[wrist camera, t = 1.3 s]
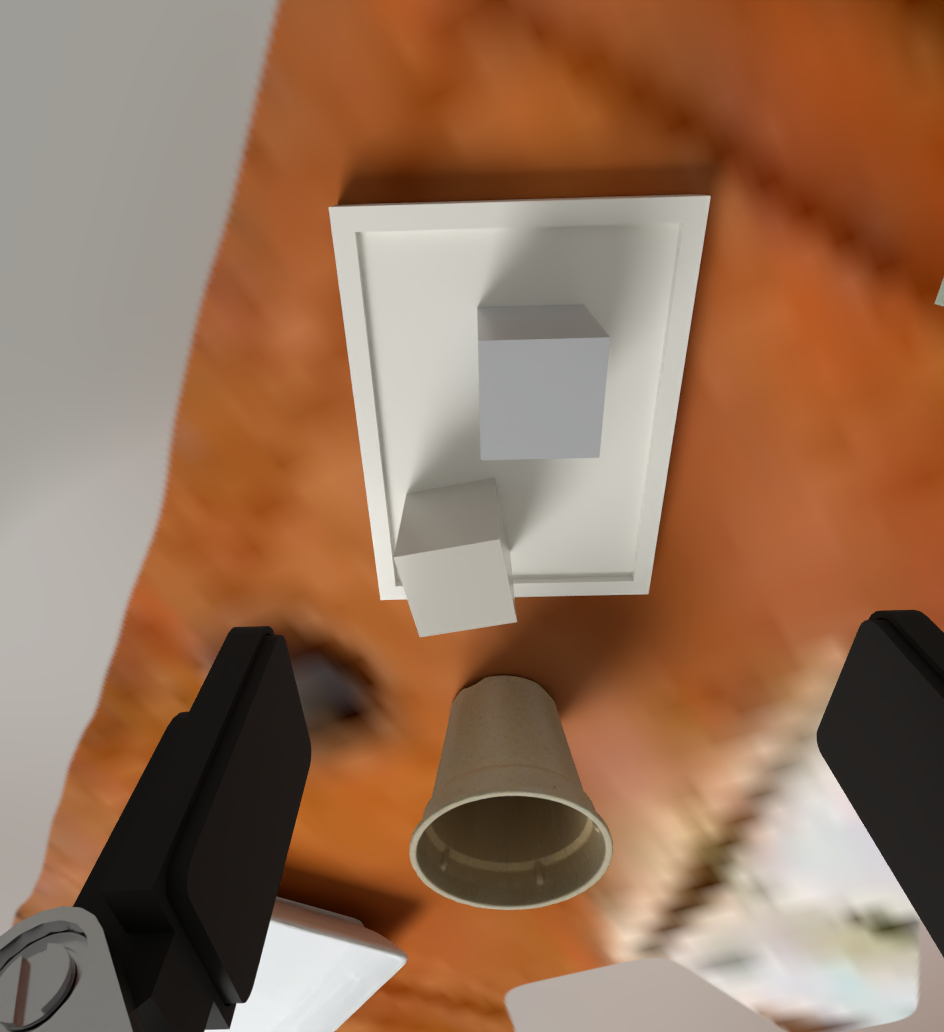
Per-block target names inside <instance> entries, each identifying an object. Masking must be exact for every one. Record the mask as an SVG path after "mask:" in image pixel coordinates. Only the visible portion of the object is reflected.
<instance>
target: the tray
mask: <svg viewBox="0 0 944 1032" xmlns="http://www.w3.org/2000/svg"><path fill="white" fill-rule="evenodd" d="M406 961H407V954H406V953H405V952H404V951H403V950H402V949H400V948H399V947H398V946H397V945H395V944H394V943H393V942H391V941H390V940H388V939H387V938H385V937H384V936H382V935H380V934H378V933H377V932H374V931H372V930H370V929H367V928H365V927H364V925H363V923H362V922H361V921H360V920H358V919H355V918H352V917H349V916H345V915H341V914H338V913H334V912H331V911H327V910H324V909H320V908H316V907H313V906H309V905H306V904H302V903H298V902H295V901H291V900H288V899H284V898H280V897H277V896H276V900H275V904H274V908H273V912H272V916H271V920H270V924H269V928H268V931H267V935H266V939H265V943H264V947H263V951H262V955H261V959H260V963H259V967H258V971H257V974H256V978H255V982H254V986H253V989H252V992H251V994H250V997H249V999H248V1000H247V1002H245V1003H237V1004H236V1008H235V1011H234V1015H233V1019H232V1023H231V1026H230V1029H222V1030H205V1031H204V1032H334V1031H335V1030H336V1029H338V1028H339V1027H340V1026H341V1025H342V1024H343V1023H344V1022H345V1021H346V1020H347V1019H348V1018H349V1017H350V1016H351V1015H352V1014H353V1013H354V1012H355V1011H356V1010H357V1009H358V1008H359V1007H360V1006H362V1005H363V1004H364V1003H365V1002H366V1001H367V1000H368V999H369V998H370V997H371V996H372V995H373V994H374V993H375V992H376V991H377V990H378V989H379V988H380V987H381V986H382V985H383V984H385V983H386V982H387V981H388V980H389V979H390V978H391V977H392V976H393V975H394V974H395V973H396V972H397V971H399V970H400V969H401V968H402V966H403V965H404V964H405V963H406Z"/></svg>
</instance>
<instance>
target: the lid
mask: <svg viewBox="0 0 944 1032" xmlns="http://www.w3.org/2000/svg"><path fill="white" fill-rule="evenodd" d="M935 304H937V305H940V306H944V278H943V281H942V284H941V287H940V290H939V293H938V295H937V298H936V301H935Z"/></svg>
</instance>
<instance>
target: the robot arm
mask: <svg viewBox="0 0 944 1032" xmlns="http://www.w3.org/2000/svg"><path fill="white" fill-rule="evenodd" d="M817 744H818V747H819V750H820V752H821V754H822V756H823V758H824V759H825V761H826V763H827V764H828V766H829V768H830V769H831V771H832V773H833V774H834V776H835V778H836V779H837V781H838V783H839V784H840V786H841V788H842V789H843V791H844V793H845V794H846V796H847V798H848V799H849V801H850V803H851V804H852V806H853V808H854V809H855V811H856V813H857V814H858V816H859V818H860V819H861V821H862V823H863V824H864V826H865V828H866V829H867V831H868V833H869V834H870V836H871V837H872V839H873V841H874V842H875V844H876V846H877V847H878V849H879V851H880V852H881V854H882V856H883V857H884V859H885V861H886V862H887V864H888V866H889V867H890V869H891V871H892V872H893V874H894V876H895V877H896V879H897V881H898V882H899V884H900V886H901V887H902V889H903V891H904V892H905V894H906V896H907V897H908V899H909V901H910V902H911V904H912V906H913V907H914V909H915V911H916V912H917V914H918V916H919V917H920V919H921V921H922V922H923V924H924V925H925V927H926V929H927V930H928V932H929V934H930V935H931V937H932V939H933V940H934V942H935V943H936V945H937V947H938V949H939V950H940V952H941V953H942V955H943V957H944V633H943V632H942V631H941V630H940V629H939V628H938V627H937V626H936V625H935V624H934V623H933V622H932V621H931V620H930V619H929V618H928V617H927V616H926V615H925V614H923V613H922V612H920V611H917V610H890V611H876V612H875V613H873V614H872V615H871V616H870V618H869V620H866V621H864V622H863V623H862V624H861V625H860V627H859V629H858V632H857V634H856V637H855V639H854V642H853V644H852V647H851V649H850V651H849V654H848V656H847V659H846V661H845V664H844V666H843V669H842V671H841V674H840V676H839V678H838V681H837V683H836V686H835V688H834V691H833V693H832V696H831V698H830V701H829V703H828V705H827V708H826V710H825V713H824V715H823V718H822V720H821V723H820V725H819V728H818V731H817ZM310 762H311V743H310V738H309V734H308V730H307V726H306V722H305V718H304V714H303V710H302V706H301V702H300V698H299V694H298V690H297V685H296V681H295V677H294V673H293V669H292V665H291V661H290V657H289V653H288V649H287V645H286V641H285V638H284V637H283V635H275V634H274V632H273V629H272V628H271V627H268V626H262V627H234V628H233V629H231V631H230V632H229V633H228V635H227V637H226V639H225V641H224V643H223V645H222V647H221V649H220V651H219V653H218V655H217V657H216V659H215V661H214V663H213V665H212V667H211V669H210V671H209V673H208V675H207V677H206V679H205V681H204V683H203V685H202V687H201V689H200V691H199V693H198V695H197V697H196V699H195V701H194V703H193V705H192V707H191V709H190V711H189V712H182V713H179V714H178V715H177V716H175V717H174V718H173V719H172V721H171V722H170V724H169V725H168V727H167V729H166V731H165V732H164V734H163V736H162V738H161V740H160V742H159V744H158V746H157V748H156V750H155V751H154V753H153V755H152V757H151V759H150V761H149V763H148V765H147V767H146V769H145V770H144V772H143V774H142V776H141V778H140V780H139V782H138V784H137V786H136V788H135V790H134V791H133V793H132V795H131V797H130V799H129V801H128V803H127V805H126V807H125V809H124V810H123V812H122V814H121V816H120V818H119V820H118V822H117V824H116V826H115V828H114V829H113V831H112V833H111V835H110V837H109V839H108V841H107V843H106V845H105V847H104V849H103V850H102V852H101V854H100V856H99V858H98V860H97V862H96V864H95V866H94V868H93V869H92V871H91V873H90V875H89V877H88V879H87V881H86V883H85V885H84V887H83V888H82V890H81V892H80V894H79V896H78V898H77V900H76V902H75V904H74V906H73V907H65V906H62V907H58V908H54V909H50V910H46V911H42V912H39V913H37V914H35V915H33V916H31V917H29V918H27V919H25V920H23V921H21V922H19V923H18V924H16V925H15V926H14V927H12V928H11V929H10V930H8V931H7V932H6V933H4V934H3V935H2V936H0V1032H204V1031H205V1030H222V1029H230V1026H231V1023H232V1019H233V1015H234V1011H235V1008H236V1004H237V1003H245V1002H247V1000H248V999H249V997H250V994H251V992H252V989H253V986H254V982H255V978H256V974H257V971H258V967H259V963H260V959H261V955H262V951H263V947H264V943H265V939H266V935H267V931H268V928H269V924H270V920H271V916H272V912H273V908H274V904H275V900H276V896H277V892H278V888H279V885H280V881H281V877H282V873H283V869H284V865H285V861H286V857H287V853H288V849H289V845H290V842H291V838H292V834H293V830H294V826H295V822H296V818H297V814H298V810H299V806H300V802H301V799H302V795H303V791H304V787H305V783H306V779H307V775H308V771H309V767H310Z"/></svg>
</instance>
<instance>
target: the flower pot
mask: <svg viewBox="0 0 944 1032" xmlns="http://www.w3.org/2000/svg"><path fill="white" fill-rule="evenodd" d="M612 852H613V842H612V838H611V834H610V831H609V829H608V827H607V825H606V823H605V822H604V820H603V819H602V818H601V816H600V815H599V814H598V813H597V812H596V811H595V808H594V806H593V804H592V802H591V800H590V798H589V797H588V796H587V794H586V793H585V792H584V791H583V788H582V785H581V782H580V779H579V776H578V773H577V770H576V767H575V764H574V761H573V758H572V755H571V752H570V749H569V746H568V743H567V740H566V737H565V733H564V730H563V727H562V724H561V721H560V718H559V715H558V712H557V708H556V704H555V702H554V701H553V699H552V698H551V697H550V695H549V694H548V693H547V692H546V691H545V690H544V689H543V688H542V687H541V686H540V685H539V684H537V683H535V682H533V681H531V680H528V679H525V678H521V677H517V676H504V675H502V676H491V677H486V678H484V679H483V680H481V681H480V682H478V683H477V684H475V685H473V686H471V687H469V688H464V689H463V690H462V691H461V692H460V693H459V694H458V695H457V697H456V698H455V700H454V701H453V703H452V706H451V709H450V716H449V722H448V726H447V731H446V736H445V741H444V745H443V750H442V754H441V759H440V763H439V768H438V772H437V776H436V781H435V786H434V790H433V795H432V798H431V799H430V801H429V802H428V804H427V806H426V808H425V811H424V815H423V819H422V820H421V821H420V823H419V824H418V825H417V827H416V829H415V831H414V832H413V835H412V838H411V842H410V851H409V853H410V860H411V864H412V866H413V868H414V870H415V871H416V873H417V875H418V876H419V877H420V879H421V880H422V881H423V882H424V883H425V884H426V885H427V886H428V887H430V888H431V889H432V890H434V891H435V892H437V893H439V894H441V895H442V896H445V897H447V898H449V899H452V900H454V901H456V902H459V903H463V904H468V905H471V906H475V907H481V908H490V909H502V910H513V909H514V910H517V909H531V908H539V907H543V906H548V905H551V904H555V903H559V902H561V901H564V900H567V899H570V898H572V897H574V896H575V895H578V894H579V893H582V892H584V891H586V890H587V889H588V888H589V887H591V886H592V885H593V884H594V883H596V882H597V881H598V880H599V879H600V878H601V877H602V876H603V874H604V872H605V871H606V870H607V869H608V867H609V864H610V861H611V858H612Z"/></svg>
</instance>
